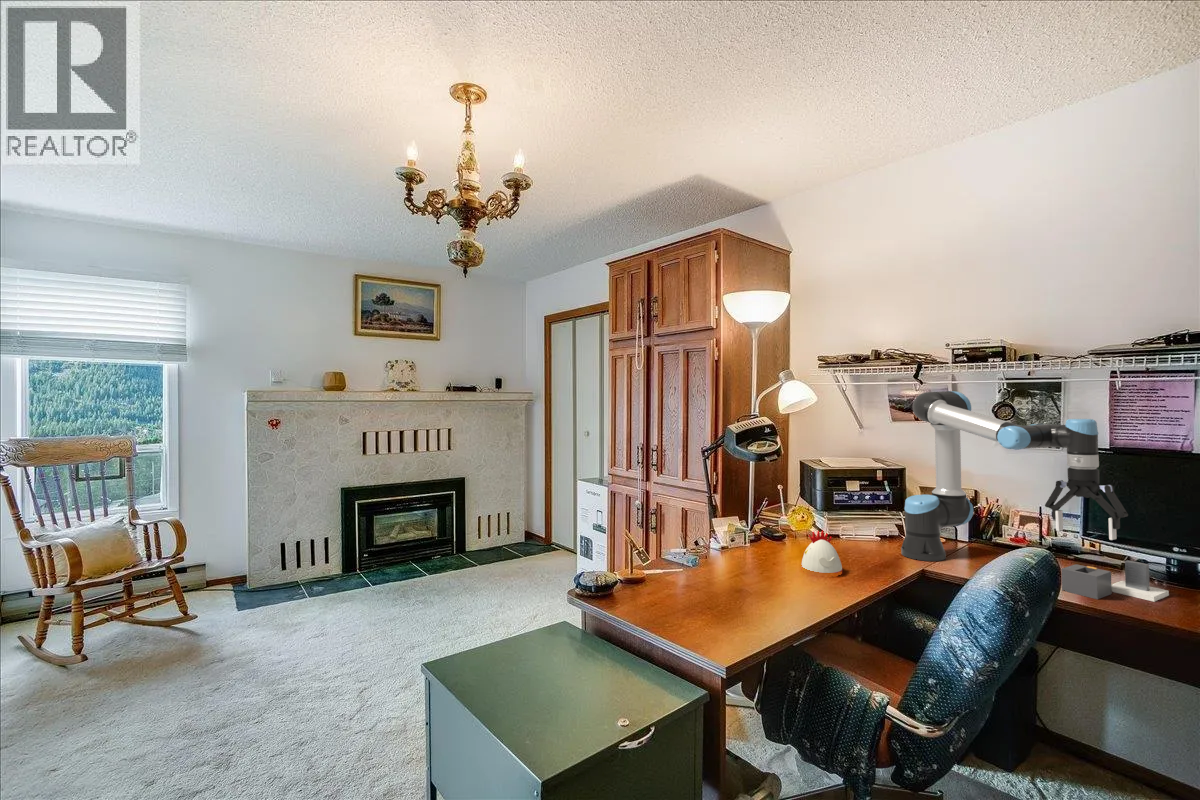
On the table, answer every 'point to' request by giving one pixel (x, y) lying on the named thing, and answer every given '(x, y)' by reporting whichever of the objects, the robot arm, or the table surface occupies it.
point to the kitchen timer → (821, 555)
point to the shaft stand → (1138, 583)
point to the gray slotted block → (1086, 581)
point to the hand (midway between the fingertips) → (1085, 534)
